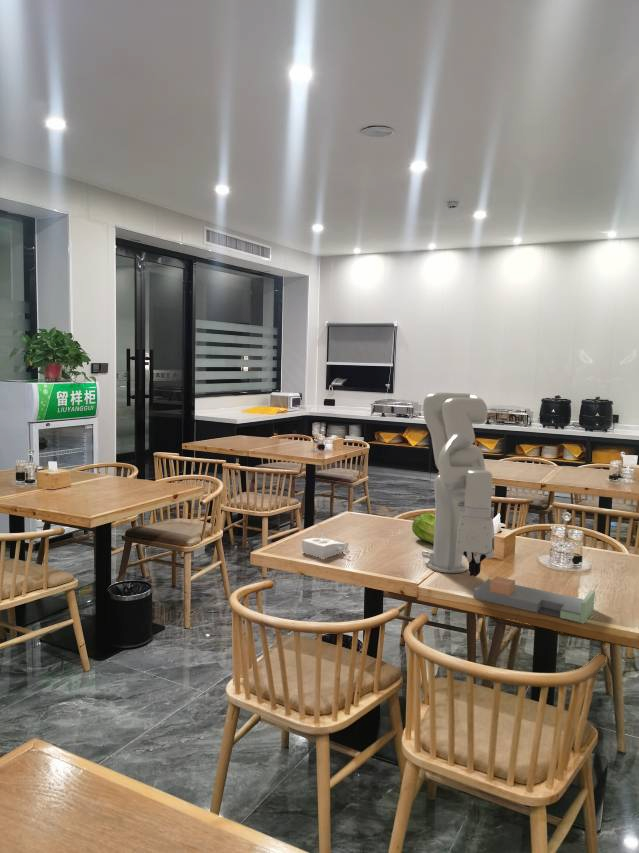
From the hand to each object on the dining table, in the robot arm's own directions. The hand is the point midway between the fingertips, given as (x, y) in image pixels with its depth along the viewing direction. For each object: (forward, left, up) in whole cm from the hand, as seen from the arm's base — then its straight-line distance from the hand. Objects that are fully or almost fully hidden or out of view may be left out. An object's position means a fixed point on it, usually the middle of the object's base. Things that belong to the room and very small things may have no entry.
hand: (474, 575), depth 186 cm
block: (+8, +1, -3) cm, 9 cm away
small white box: (-56, +8, -6) cm, 57 cm away
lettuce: (-29, +45, -6) cm, 54 cm away
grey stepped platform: (+16, +3, -6) cm, 17 cm away
